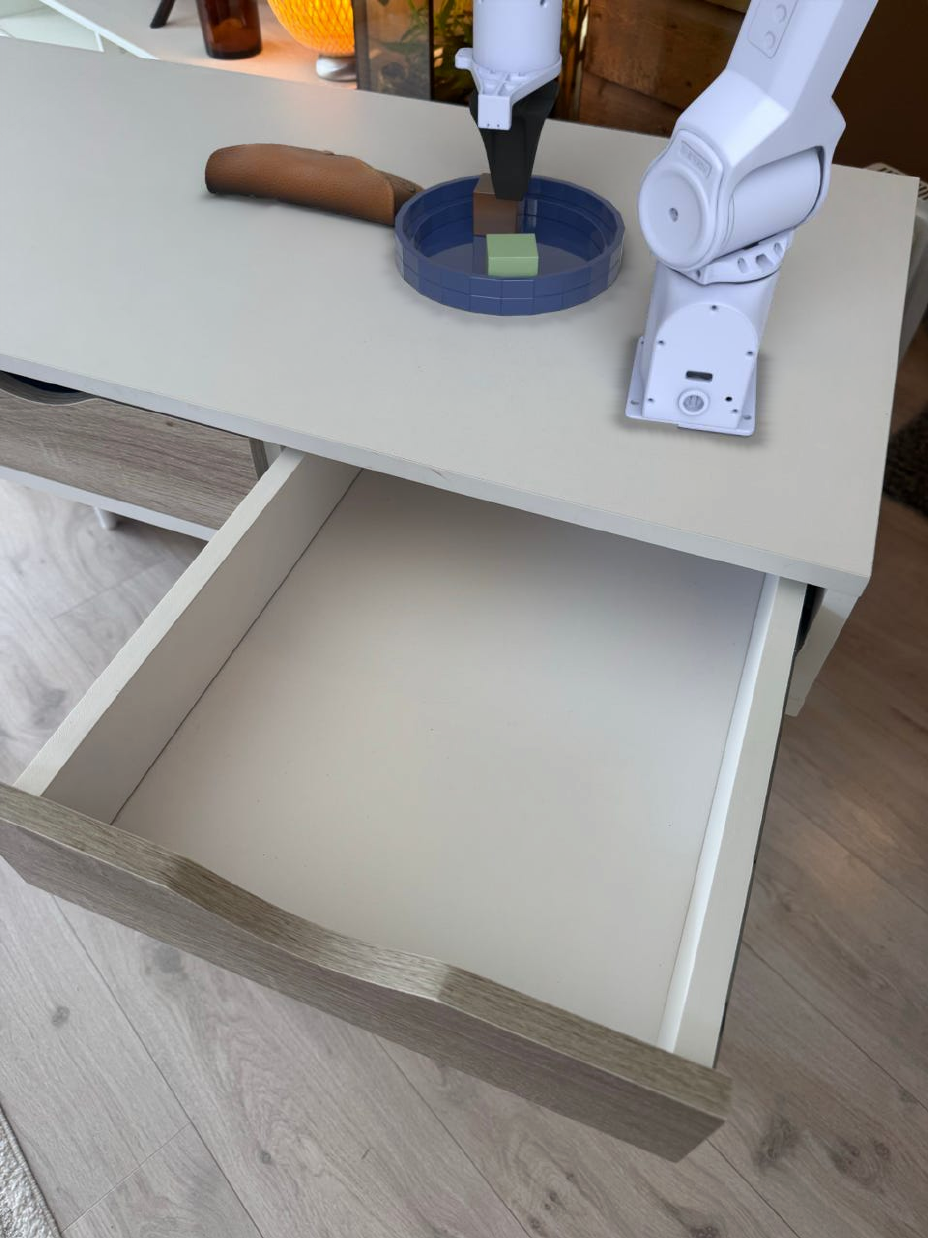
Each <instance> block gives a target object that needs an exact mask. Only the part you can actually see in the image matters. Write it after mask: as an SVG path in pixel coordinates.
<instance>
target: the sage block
mask: <svg viewBox="0 0 928 1238" xmlns="http://www.w3.org/2000/svg"><path fill="white" fill-rule="evenodd" d="M538 259H539V257H538V251H537V245H536V239H535V234H487V235H486V275H494V276H535V275H538Z"/></svg>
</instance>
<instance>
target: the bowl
mask: <svg viewBox="0 0 928 1238" xmlns="http://www.w3.org/2000/svg"><path fill="white" fill-rule="evenodd" d="M481 175H482V174H476V175H469V176H460V177H457V178H453V179H449V180H446V181H443V182H438V183H436V184H434V185H432V186H430V187H428V188H424V189H425V190H423V191H421V192H419V193H417V194H416V195H414V196H413V197H412V198H411V199H409V200H408V201H407V202H406V203H404V204H403V206H402V207H401V209H400V211H399V212H398V214H397V216H396V218H395V227H394V241H395V258H396V267H397V269H398V270H399V272H400V274H401V276H402V278H403V280H404V281H405V282H406V283H407V284H408V285H410V286H411V287H412V288H413V289H414V290H415V291H417V292H418V293H419V294H421V295H423V296H425V297H426V298H429V299H430V300H433V301H435V302H437V303H440V304H441V305H444V306H448V307H451V308H455V309H459V310H462V311H466V312H471V313H478V314H487V315H493V316H494V315H496V316H501V317H504V316H533V315H538V314H539V315H540V314H544V313H551V312H557V311H562V310H566V309H569V308H572V307H575V306H577V305H580V304H583V303H587V302H588V301H590V300H591V299H593V298H595V297H597V296H598V295H600V294H602V293H603V292H605V291H606V290H607V289H608V288H609V286H611V284H612V283H613V282H614V281H615V280H616V278H617V277H618V275H619V272H620V267H621V263H622V258H623V250H624V249H623V248H624V242H625V235H626V234H625V233H626V225H625V222H624V219H623V217H622V214H621V212H620V211H619V210H618V209H617V208H616V207H615V205H613V203H612V202H611V201H610V200H608V199H607V198H605V197H603V196H602V195H600V194H599V193H597V192H595V191H593V190H592V189H589V188H587V187H584V186H582V185H580V184H576V183H575V182H572V181H568V180H564V179H559V178H554V177H550V176H545V175H538V174H532V175H531V179H530V183H529V186H528V189H527V192H526V194H525V200H524V219H523V222H522V225H521V227H520V230H519V232H518V234H535V239H536V245H537V251H538V257H539V259H538V275H535V276H494V275H486V236H480V235H473V191H474V189H475V187H476V185H477V183H478V181H479V179H480V177H481Z"/></svg>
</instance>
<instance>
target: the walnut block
mask: <svg viewBox="0 0 928 1238" xmlns="http://www.w3.org/2000/svg"><path fill="white" fill-rule="evenodd" d="M480 175H481V177H480V179H479V181H478V183H477V185H476V187H475V189H474V191H473V235H480V236H486V235H487V234H518V232H519V230H520V227H521V225H522V222H523V219H524V200H525V197H524V199H523V201H514V200H503V199H497V198H496V196H495V193H494V189H493V184H492V179H491V174H490V172H482V173H481V174H480Z"/></svg>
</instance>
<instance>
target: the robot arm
mask: <svg viewBox="0 0 928 1238" xmlns="http://www.w3.org/2000/svg"><path fill="white" fill-rule="evenodd" d="M878 2H879V0H751V1H750V3H749V6H748V9H747V10H746V14H745V16H744V19H743V21H742V24H741V27H740V29H739V32H738V34H737V37H736V40H735V42H734V44H733V48H732V50H731V53H730V54H729V55H730V56H729V58H728V61H727V63H726V66H725V67H724V70H722V72H721V73H720V74H719V75H718V76H717V77H716V78H715V80H713V81H712V82H711V84H710V85H708V86H707V88H706V89H705V90H703V92H701V94H700V95H698V97H696V99H695V100H693V102H692V103H691V104H690V105H689V106H688V107H687V108H686V109H685V110H684V111H683V112H682V113H681V114H680V115H679V116H678V118H677V120H676V122H675V125H674V127H673V130H672V133H671V136H670V138H669V140H668V142H667V143H666V145H665V147H664V148H663V149H662V150H661V152H660V153H659V154H658V155H657V156H655V158H653V159H652V160H651V161H650V163H649V164H648V165H647V166H646V167H645V170H644V172H643V174H642V177H641V179H640V182H639V186H638V191H637V206H636V207H637V218H638V222H639V223H638V224H639V227H640V231H641V234H642V236H643V238H644V241H645V242H646V245H647V246H648V248H649V250H650V251H649V252H650V253H649V255H650V256H651V257H652V258H653V259H655V260H656V262H655V267H654V268H655V270H654V274H653V280H652V288H651V293H650V301H649V305H648V312H647V318H646V324H645V330H644V335H641V336H639V338H638V340H637V346H636V350H635V354H634V355H635V356H634V361H633V367H632V371H631V377H630V383H629V388H628V393H627V398H626V404H625V409H624V415H625V416H626V417H628V418H631V419H637V420H645V421H652V422H661V423H667V424H673V425H677V428H682V429H691V430H698V431H704V432H713V433H720V434H728V435H736V436H742V437H749V436H752V435H753V434H754V431H755V426H756V395H757V394H756V393H757V371H758V370H757V369H758V368H757V367H758V355H759V350H760V347H761V344H762V340H763V336H764V332H765V328H766V324H767V321H768V317H769V314H770V310H771V305H772V302H773V298H774V294H775V290H776V287H777V283H778V279H779V276H780V272H781V268H782V264H783V261H784V258H785V253H786V251H788V250H790V249H791V248H792V244H793V240H794V236H795V233H796V229H797V228H799V227H802V226H804V225H805V224H807V223H808V222H810V220H812V219H813V218H814V217H815V216H816V215H817V213H818V212H819V211H820V209H821V208H822V206H823V204H824V203H825V200H826V197H827V195H828V193H829V192H828V191H829V188H830V183H831V173H832V163H833V157H834V154H835V151H836V148H837V145H838V143H839V141H840V139H841V137H842V136H843V133H844V131H845V129H846V125H847V123H846V121H845V118H844V116H843V114H842V113H841V110H840V109H839V107H838V105H837V104H836V102H835V101H834V99H833V98H832V96H833V94H834V92H835V89H836V87H837V85H838V84H839V82H840V79H841V77H842V76H843V73H844V71H845V70H846V67H847V65H848V64H849V62H850V59H851V58H852V56H853V54H854V51H855V49H856V47H857V45H858V43H859V41H860V39H861V37H862V35H863V33H864V31H865V29H866V27H867V25H868V22H869V21H870V19H871V17H872V14H873V13H874V11H875V9H876V7H877V4H878ZM562 16H563V0H472V47H462V48H459V50H458V51H457V52H456V53H455V55H454V56H455V57H454V67H455V68H456V69H460V70H467V71H468V70H469V72H470V73H471V77H472V79H473V82H474V84H475V87H476V88H474V89H473V90H472V91H471V93H470V95H469V96H468V110H469V115H470V116H471V118H472V119H473V121H474V123H475V125H476V127H477V129H478V131H479V134H480V136H481V140H482V142H483V145H484V149H485V152H486V159H487V162H488V167H489V173H490V174H491V179H492V184H493V189H494V193H495V196H496V198H497V199H503V200H514V201H523V199H524V197H525V194H526V192H527V189H528V186H529V183H530V179H531V175H533V171H534V165H535V161H536V155H537V151H538V146H539V144H540V143H539V142H540V138H541V135H542V132H543V128H544V125H545V122H546V121H547V118H548V117H549V114H550V113H551V111H552V109H553V106H554V104H555V102H556V99H557V97H558V95H559V93H560V84H559V82H557V81H556V80H554V79H555V78H557V77H558V76H559V75H560V74H561V71H562V66H563V65H562V63H563V57H562V54H561V53H560V49H561V48H560V47H561V31H562ZM635 403H637V404H635Z"/></svg>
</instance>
